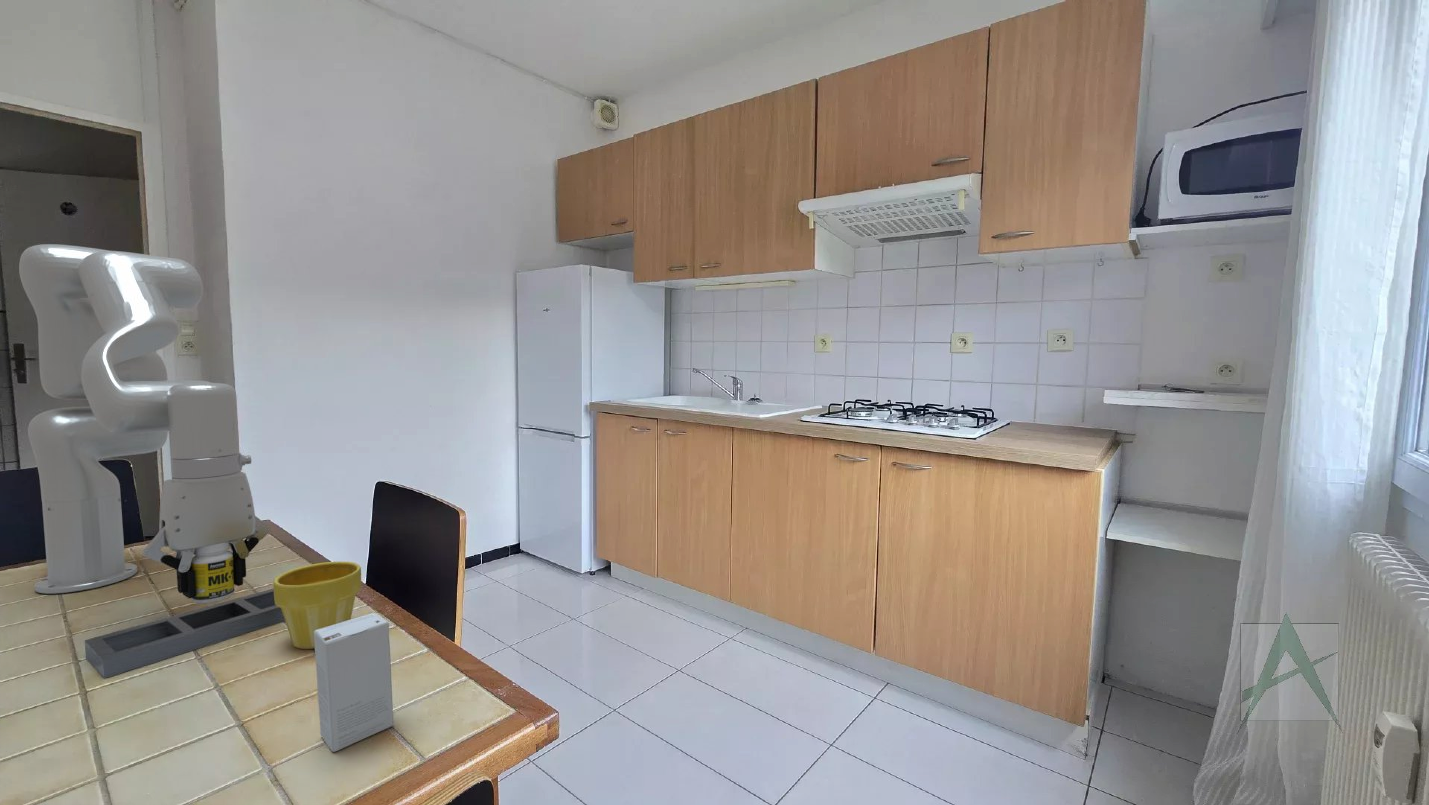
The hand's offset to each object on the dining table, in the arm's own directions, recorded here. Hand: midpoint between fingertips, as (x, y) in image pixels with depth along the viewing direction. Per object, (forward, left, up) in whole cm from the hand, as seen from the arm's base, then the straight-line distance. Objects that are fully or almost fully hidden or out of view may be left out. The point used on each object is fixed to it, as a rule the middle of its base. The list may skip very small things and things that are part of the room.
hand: (213, 588), depth 85 cm
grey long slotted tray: (0, 0, -6) cm, 6 cm away
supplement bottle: (0, 0, -2) cm, 2 cm away
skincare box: (+43, 0, -7) cm, 43 cm away
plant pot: (+16, +8, -7) cm, 19 cm away
